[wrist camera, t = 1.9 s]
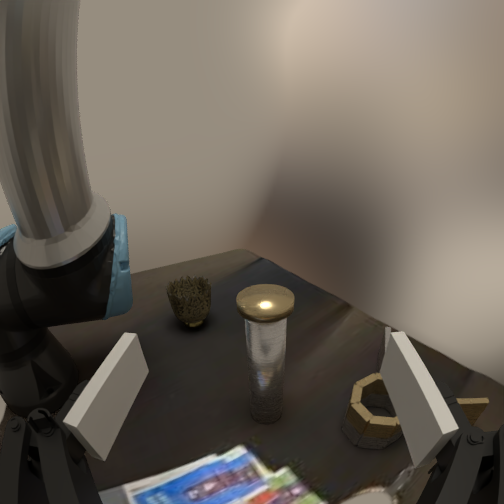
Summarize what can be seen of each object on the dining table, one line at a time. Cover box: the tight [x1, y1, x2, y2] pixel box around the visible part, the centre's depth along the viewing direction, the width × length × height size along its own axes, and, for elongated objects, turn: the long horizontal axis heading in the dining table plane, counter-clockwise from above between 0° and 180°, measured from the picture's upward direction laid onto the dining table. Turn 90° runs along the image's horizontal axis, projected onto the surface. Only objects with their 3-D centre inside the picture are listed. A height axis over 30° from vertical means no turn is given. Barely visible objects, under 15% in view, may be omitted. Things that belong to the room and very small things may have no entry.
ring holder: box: [342, 327, 489, 450], centre depth 25 cm, size 14×20×5 cm
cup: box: [166, 275, 211, 329], centre depth 45 cm, size 8×7×8 cm
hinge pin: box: [237, 284, 294, 424], centre depth 26 cm, size 5×5×16 cm
